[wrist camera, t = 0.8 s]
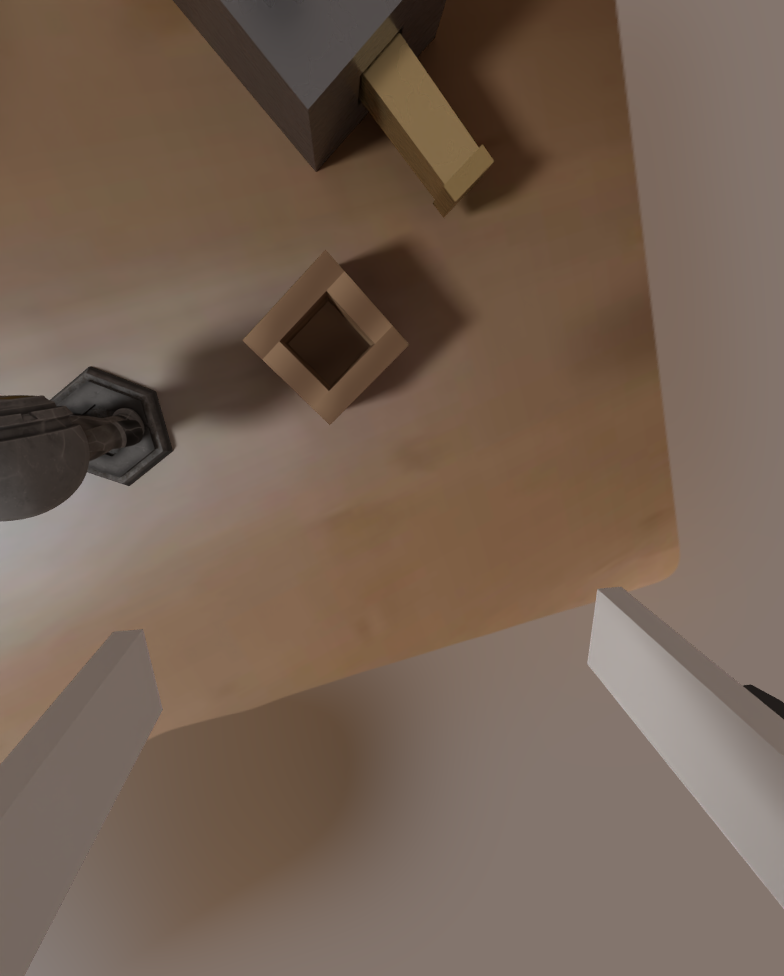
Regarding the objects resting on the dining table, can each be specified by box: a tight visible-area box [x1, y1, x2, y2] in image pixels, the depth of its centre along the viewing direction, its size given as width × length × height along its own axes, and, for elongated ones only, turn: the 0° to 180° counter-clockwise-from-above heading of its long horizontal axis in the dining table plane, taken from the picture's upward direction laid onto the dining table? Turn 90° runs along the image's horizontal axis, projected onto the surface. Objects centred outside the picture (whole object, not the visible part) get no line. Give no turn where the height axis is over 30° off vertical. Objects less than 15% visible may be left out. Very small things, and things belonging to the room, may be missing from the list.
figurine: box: [0, 367, 173, 521], centre depth 27 cm, size 9×10×15 cm
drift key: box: [358, 31, 494, 217], centre depth 27 cm, size 3×9×3 cm, turn 44°
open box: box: [242, 250, 409, 425], centre depth 31 cm, size 8×8×6 cm
